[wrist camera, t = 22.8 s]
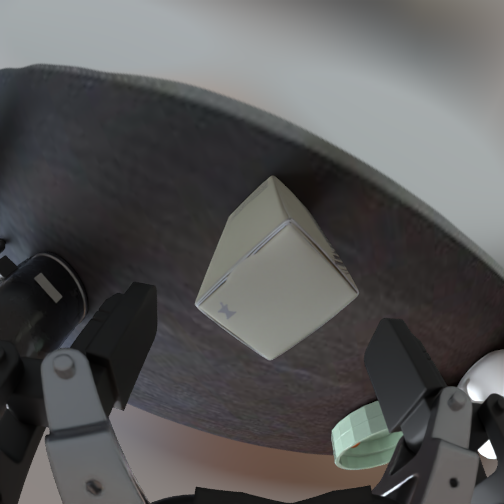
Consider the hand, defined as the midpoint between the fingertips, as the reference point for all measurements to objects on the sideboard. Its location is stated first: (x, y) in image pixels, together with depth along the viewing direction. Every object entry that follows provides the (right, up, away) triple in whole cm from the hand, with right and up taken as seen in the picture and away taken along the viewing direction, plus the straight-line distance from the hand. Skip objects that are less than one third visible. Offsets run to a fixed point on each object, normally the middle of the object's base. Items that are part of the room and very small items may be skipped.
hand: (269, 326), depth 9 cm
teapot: (+37, -17, +21) cm, 46 cm away
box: (+1, +6, +13) cm, 14 cm away
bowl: (+19, -24, +25) cm, 39 cm away
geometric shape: (+53, -32, +27) cm, 67 cm away
